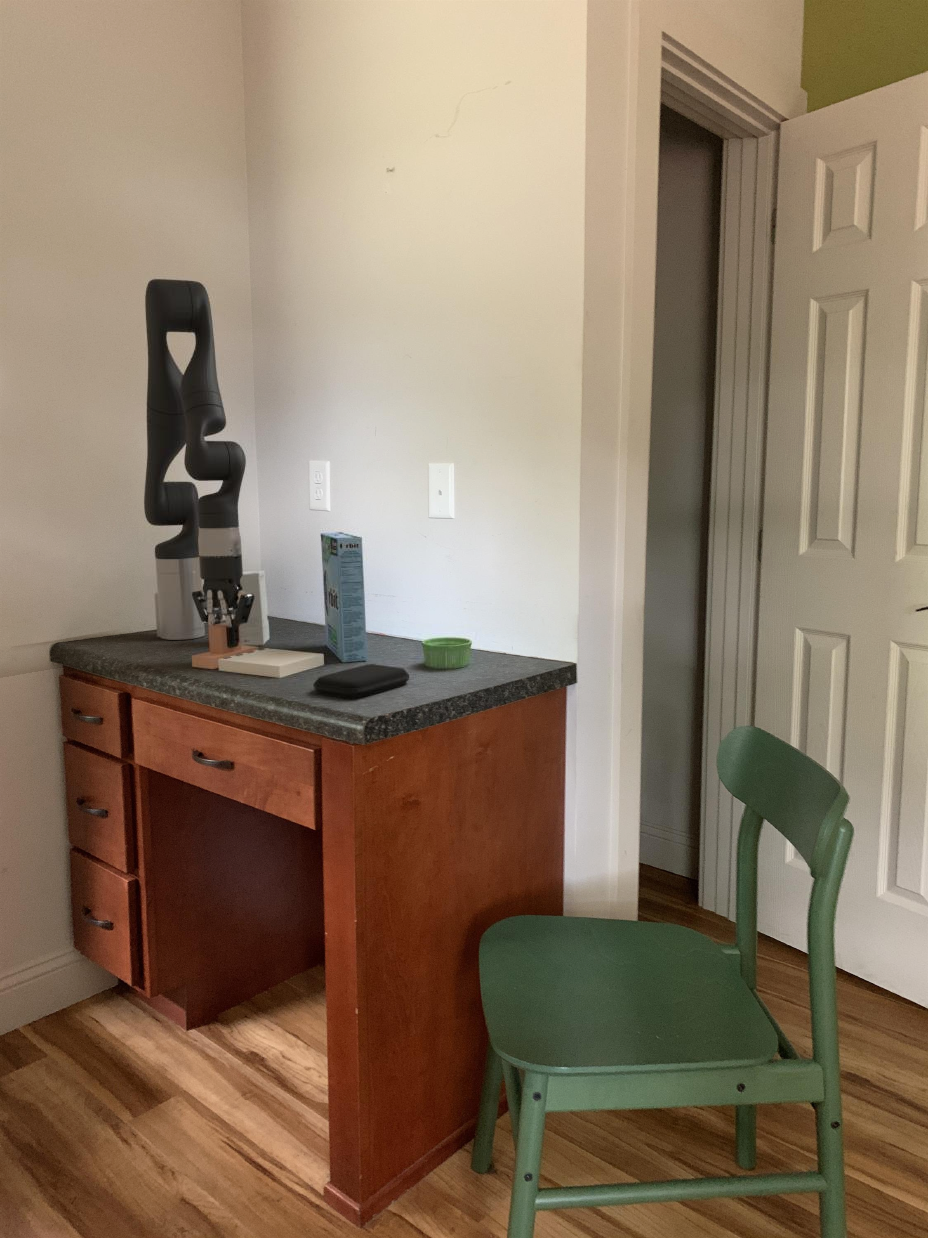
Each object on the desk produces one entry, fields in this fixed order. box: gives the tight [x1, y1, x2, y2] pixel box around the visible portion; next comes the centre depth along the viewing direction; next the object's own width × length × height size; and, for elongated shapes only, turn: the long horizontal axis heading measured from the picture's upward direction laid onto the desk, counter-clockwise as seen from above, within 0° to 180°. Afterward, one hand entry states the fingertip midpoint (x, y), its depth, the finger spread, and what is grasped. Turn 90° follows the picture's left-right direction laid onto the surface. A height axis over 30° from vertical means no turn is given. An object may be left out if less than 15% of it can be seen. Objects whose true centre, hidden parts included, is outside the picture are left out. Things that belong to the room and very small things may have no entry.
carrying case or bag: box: [312, 663, 410, 700], centre depth 145 cm, size 11×3×15 cm
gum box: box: [320, 531, 368, 663], centre depth 173 cm, size 20×5×23 cm, turn 17°
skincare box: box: [238, 570, 270, 647], centre depth 187 cm, size 8×6×15 cm
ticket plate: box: [218, 647, 325, 679], centre depth 162 cm, size 14×12×2 cm
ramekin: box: [421, 636, 473, 670], centre depth 162 cm, size 9×9×4 cm
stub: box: [191, 622, 259, 670], centre depth 167 cm, size 5×12×7 cm, turn 151°
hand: (225, 645), depth 167 cm, fingers closed on stub, 3 cm apart
